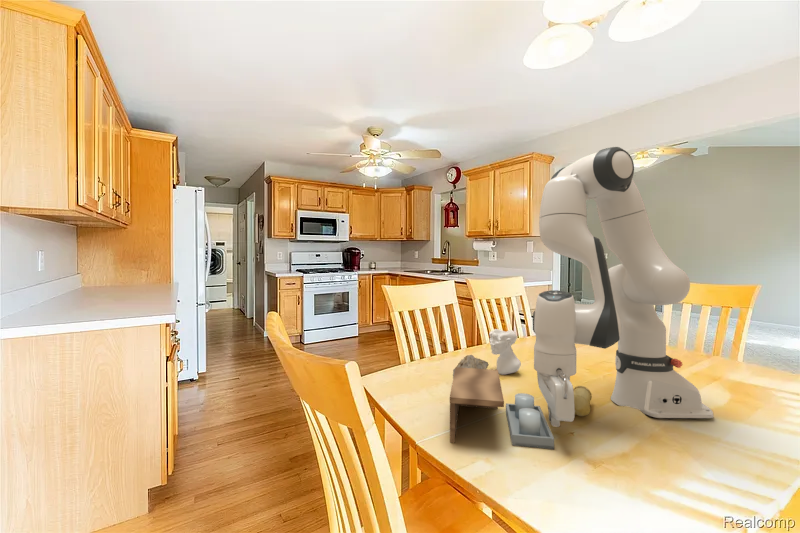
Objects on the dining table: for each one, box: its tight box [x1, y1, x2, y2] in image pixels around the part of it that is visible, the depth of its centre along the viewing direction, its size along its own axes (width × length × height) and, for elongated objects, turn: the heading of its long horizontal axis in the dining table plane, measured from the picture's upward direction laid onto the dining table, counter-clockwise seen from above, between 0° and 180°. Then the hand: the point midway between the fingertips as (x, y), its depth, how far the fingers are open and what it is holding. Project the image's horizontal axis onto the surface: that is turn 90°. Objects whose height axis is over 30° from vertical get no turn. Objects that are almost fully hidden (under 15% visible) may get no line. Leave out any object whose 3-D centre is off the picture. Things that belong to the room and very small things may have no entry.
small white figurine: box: [489, 328, 522, 376], centre depth 123 cm, size 10×11×15 cm
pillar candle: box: [519, 408, 540, 436], centre depth 79 cm, size 4×4×5 cm
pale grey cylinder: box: [514, 392, 535, 419], centre depth 88 cm, size 4×4×5 cm
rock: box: [452, 354, 490, 379], centre depth 111 cm, size 12×7×10 cm, turn 115°
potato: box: [573, 385, 593, 417], centre depth 93 cm, size 14×5×5 cm, turn 149°
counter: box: [449, 366, 505, 444], centre depth 86 cm, size 11×22×10 cm, turn 168°
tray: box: [505, 403, 555, 450], centre depth 83 cm, size 8×17×2 cm, turn 168°
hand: (554, 423), depth 82 cm, fingers closed
